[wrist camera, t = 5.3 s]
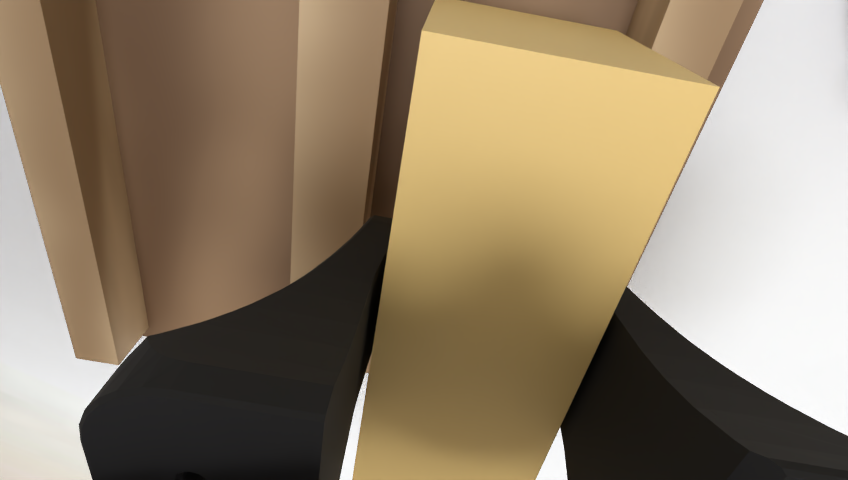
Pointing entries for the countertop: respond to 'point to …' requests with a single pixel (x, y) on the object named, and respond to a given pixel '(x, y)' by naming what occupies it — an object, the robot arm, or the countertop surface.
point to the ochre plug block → (513, 233)
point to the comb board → (241, 137)
